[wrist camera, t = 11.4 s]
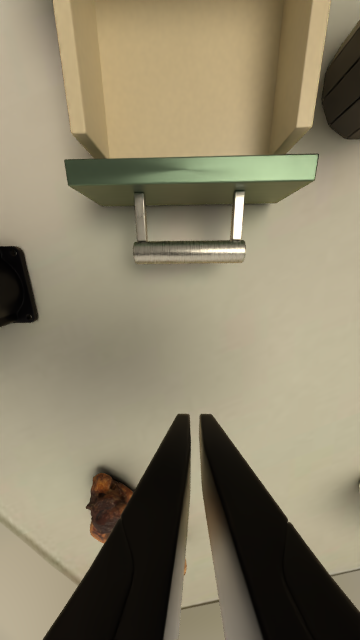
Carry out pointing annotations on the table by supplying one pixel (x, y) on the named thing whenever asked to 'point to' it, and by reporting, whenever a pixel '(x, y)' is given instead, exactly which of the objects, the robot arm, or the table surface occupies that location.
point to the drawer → (190, 107)
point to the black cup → (344, 88)
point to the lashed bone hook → (107, 506)
